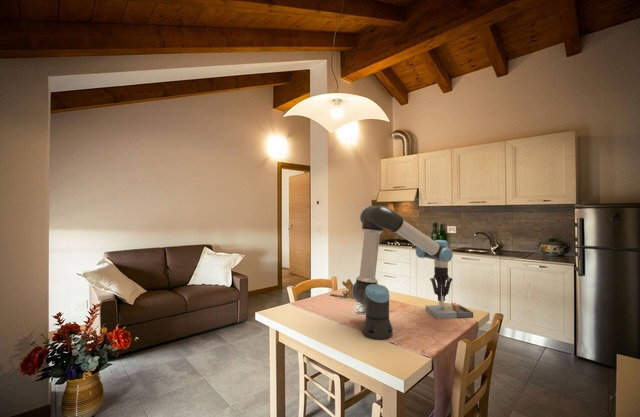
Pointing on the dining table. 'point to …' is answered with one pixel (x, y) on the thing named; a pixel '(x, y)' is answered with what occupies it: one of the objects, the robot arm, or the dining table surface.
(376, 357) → the dining table surface
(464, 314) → the box
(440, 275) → the robot arm
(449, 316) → the plate
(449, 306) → the tile
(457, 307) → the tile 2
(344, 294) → the wooden toy
